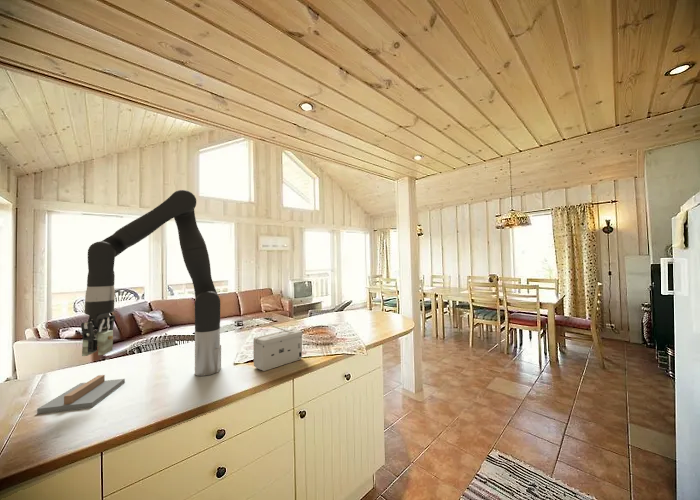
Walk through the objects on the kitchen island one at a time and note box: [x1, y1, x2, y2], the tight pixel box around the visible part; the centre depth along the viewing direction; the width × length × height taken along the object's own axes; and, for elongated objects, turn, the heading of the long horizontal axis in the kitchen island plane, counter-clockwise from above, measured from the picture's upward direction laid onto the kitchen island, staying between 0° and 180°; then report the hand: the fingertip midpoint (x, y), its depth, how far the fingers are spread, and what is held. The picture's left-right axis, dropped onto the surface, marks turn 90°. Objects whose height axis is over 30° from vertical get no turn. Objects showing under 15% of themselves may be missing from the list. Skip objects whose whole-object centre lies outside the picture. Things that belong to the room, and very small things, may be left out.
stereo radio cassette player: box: [253, 322, 303, 372], centre depth 121 cm, size 21×8×20 cm, turn 135°
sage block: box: [81, 330, 114, 357], centre depth 94 cm, size 7×5×7 cm
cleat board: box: [36, 374, 126, 415], centre depth 93 cm, size 14×18×4 cm
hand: (97, 348), depth 94 cm, fingers closed on sage block, 5 cm apart
